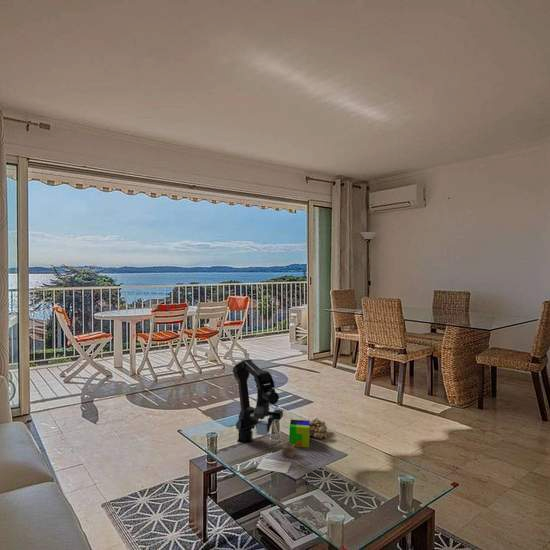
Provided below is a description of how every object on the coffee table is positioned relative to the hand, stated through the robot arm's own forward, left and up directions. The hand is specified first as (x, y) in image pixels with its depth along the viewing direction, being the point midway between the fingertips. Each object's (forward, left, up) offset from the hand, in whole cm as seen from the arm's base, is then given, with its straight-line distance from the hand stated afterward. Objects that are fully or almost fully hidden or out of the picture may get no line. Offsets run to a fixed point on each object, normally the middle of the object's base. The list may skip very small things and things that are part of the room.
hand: (262, 430), depth 195 cm
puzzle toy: (+14, +20, -12) cm, 27 cm away
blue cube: (0, 0, -1) cm, 1 cm away
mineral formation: (+21, +32, -12) cm, 41 cm away
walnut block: (+12, +4, -12) cm, 18 cm away
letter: (+8, -8, -12) cm, 17 cm away
